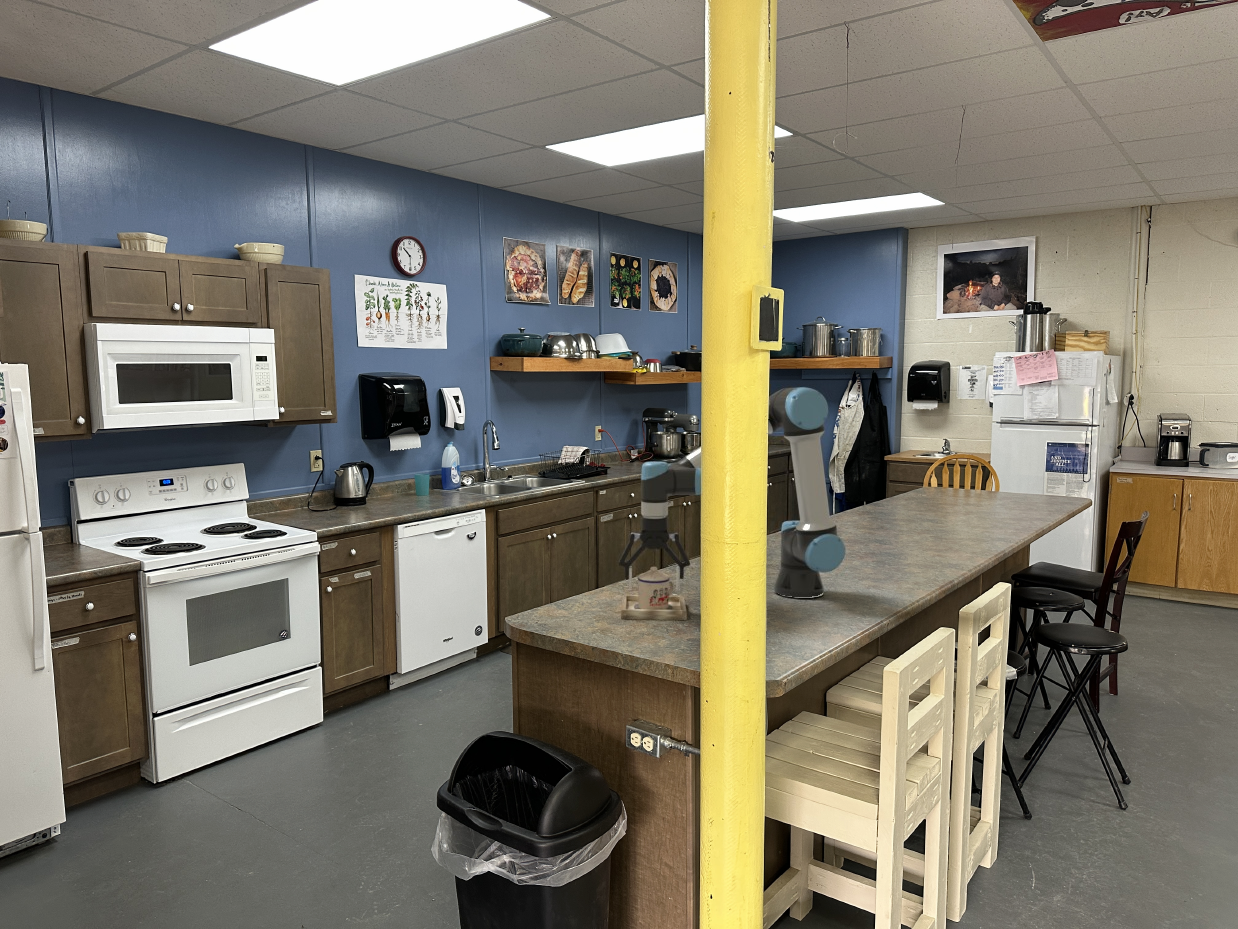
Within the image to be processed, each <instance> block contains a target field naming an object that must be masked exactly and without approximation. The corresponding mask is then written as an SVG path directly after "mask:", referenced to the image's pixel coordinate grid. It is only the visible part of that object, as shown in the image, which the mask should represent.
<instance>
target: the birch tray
mask: <svg viewBox="0 0 1238 929" xmlns="http://www.w3.org/2000/svg"><path fill="white" fill-rule="evenodd" d="M685 602H686V601H685V598H684V595H670V596H669V604H668V608H667V609H666V610H653V609H640V608H639V607H638V594H622V597H621V608H620V609H621V610H620V615H621V616H620V618H621V620H651V621H652V620H655V621H657V620H658V621H659V620H660V621H661V620H662V621H665V620H668V621H669V620H670V621H671V620H672V621H687V614H688V613H687V607H686V603H685Z"/></svg>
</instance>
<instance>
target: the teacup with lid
mask: <svg viewBox="0 0 1238 929" xmlns="http://www.w3.org/2000/svg"><path fill="white" fill-rule="evenodd" d="M637 580H638V583H637V584H638V590H637V591H638V592H637V593H638V594H637V595H638V607H639V608H640V609H653V610H666V609H667V608H668V604H669V596H672V595H673V593H674V590H675V584H674V581H672V580H671V579H670V576H669V575H668V574H666V573H664V572H662V571H660V570H658V568H657V566H651V567H650V570H647V571H646V572H644V573H643V572H642V573H640V574H639V575H638V577H637Z"/></svg>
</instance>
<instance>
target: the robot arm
mask: <svg viewBox="0 0 1238 929" xmlns="http://www.w3.org/2000/svg"><path fill="white" fill-rule="evenodd" d="M768 397H769V419H768V433H767V434H769V435H772V434H773V433H774V432H776V431H777V430H781V429H782V433H783V437H784V439H786V440H787V441H788V442H789V443H790V452H791V460H792V467H793V474H794V476H793V477H794V482H795V490H796V498H797V505H798V513H799V520H787V521H786V520H785V521H784V522H782V523H781V529H780V530H781V531H780V534H781V535H780V568H779V571H778V573H777V577H776V579H775V582H774V586H773V587H774V588H773V592H774V591H775V592H776V593H779V594H781V595H785V596H792V597H812V596H818V595H820V594H822V593H823V592H824V591H825V589H824V588H825V587H824V584H823V581H822V578H821V575H820V573H830V572H832V571H834V570H836V569H837V568H838V567H839V566H840V565H841V564H842V563H843V561H844V559H845V557H846V546H845V543H844V541H843V540H842V538H840V537H839V535H838V529H837V522H836V521H835V520H833V519H832V518H831V516H830V507H829V501H828V493H827V485H826V475H825V468H824V467H825V466H824V461H823V459H824V458H823V452H822V445H821V444H822V443H821V437H822V436H823V434H824V433H825V432H826V431H825V421H826V419H828V415H829V414H828V413H829V406H828V405H829V404H828V402H827V400H826V398H825V396H824V395H823V394H822V393H821V392H819V391H818V390H816V389H814V388H811V387H806V386H802V387H799V386H798V387H786V388H785V387H784V388H782V389H780V390H779V389H778V391H776V392H774V393H773V394H771V395H770V396H768ZM640 481H641V486H640V487H641V505H640V506H641V507H640V508H641V509H640V514H641V515H642V517H641V519H640V520H641V521H640V526H641V527H640V528H641V529H640V533H636V532H631V533H630V536H629V537H630V538H629V541H628V543H627V545H626V547H625V549H624V550H623V552H622V554H621V556H620V558H619V561H618V565H619V566H621V567H624V577H625V579H628V591H629V592H631V591H632V590H633V587H632V586H633V576H632V575H633V573H632V572H633V566H631V565H632V564H634V562H635V561H636V560H637V558H638V557H640V555H641V554H642V553H643V551H645V549H648V550H661V549H664V551H665V552H666V553H667V554H668V555H669V556H670V558H671V559H672V560H673V561H674V562H675V563H676V564H677V565H678V566H676V592H680V589H681V586H680V585H681V584H680V582H681V580H683V579H684V578H685V575H684V574H685V573H684V572H685V568H686V567H690V565H691V562H690V559H689V558H688V556H687V553H686V551H685V549H684V546H682V543H681V542H680V536H679V533H678V532H674V533H669V532H668V530H669V527H668V526H669V518H668V517H667V516H668V515H669V507H668V506H669V496H678V495H679V496H681V495H682V496H688V495H690V496H693V495H696V496H698V495H702V494H701V446H700V447H698V448H696V449H695V450H694V451H692V452H691V453H689V454H687V455H686V456H684V457H683V458H681V459H680V460H678V461H676V462H672V463H668V462H667V461H646V462H644V463H643V464H642V466H641V476H640ZM638 539H640V541H641V542H642V543H641V544H640V546H639V547H638V548H637V549H636V550H635V551H634V553H632V555H631V556H630V557H629V558H628V559H627V557H628V555H629V553H630V551H631V550H632V548H633V546H634V543H635V542H637V540H638ZM670 539H671V541H672V542H674V543H675V545H676V547H677V549H678V551H679V553H680V555H681V557H682V560H683V561H682V560H681V559H680V558H679V556H678V555H677V554H676V553H675V551H673V549H672V548H671V547H670V546H669V545H668V544H667V542H668V541H669V540H670ZM626 559H627V560H626ZM775 592H774V593H775ZM776 593H775V594H776ZM824 593H825V592H824Z"/></svg>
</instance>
